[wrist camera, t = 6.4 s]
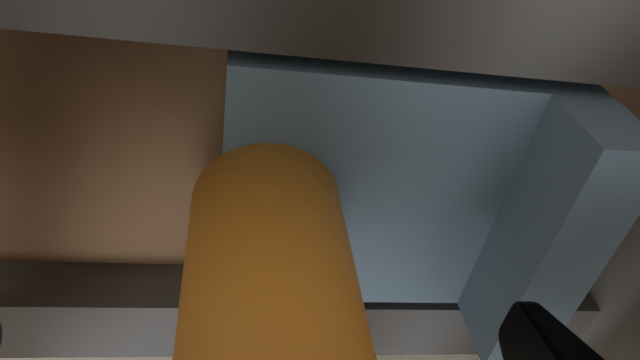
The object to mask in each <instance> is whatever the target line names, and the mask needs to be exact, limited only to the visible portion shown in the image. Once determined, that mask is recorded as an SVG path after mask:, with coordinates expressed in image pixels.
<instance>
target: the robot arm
mask: <svg viewBox="0 0 640 360" xmlns="http://www.w3.org/2000/svg"><path fill="white" fill-rule="evenodd" d="M2 335H3V332H2V326H1V323H0V347H1V343H2ZM498 339H499V344H500V348H501V353H502V357H503V360H605V359H604V358H602V357H601V356H600V355H599V354H598V353H597V352H595V351H594V350H593V349H592V348H591V347H590V346H588V345H587V344H586V343H585V342H584V341H583V340H581V339H580V338H579V337H578V336H577V335H576V334H574V333H573V332H572V331H571V330H570V329H568V328H567V327H566V326H565V325H564V324H563V323H561V322H560V321H559V320H558V319H557V318H556V317H554V316H553V315H552V314H551V313H550V312H549V311H547V310H546V309H545V308H544V307H543V306H542V305H540V304H539V303H537V302H534V301H516V302H515V303H513V304H512V305H511V307H510V309H509V311H508V313H507V315H506V316H505V318H504V320H503V322H502V324H501V326H500V328H499V332H498Z"/></svg>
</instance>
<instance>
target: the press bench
mask: <svg viewBox="0 0 640 360" xmlns="http://www.w3.org/2000/svg"><path fill="white" fill-rule="evenodd" d="M228 50H234V51H244V52H255V53H266V54H276V55H287V56H298V57H308V58H319V59H330V60H340V61H351V62H362V63H372V64H383V65H394V66H404V67H415V68H426V69H436V70H447V71H458V72H468V73H479V74H490V75H500V76H511V77H522V78H532V79H543V80H554V81H564V82H575V83H586V84H596V85H601V86H602V87H603V88H604V89H605V90H606V91H607V92H609V93H610V94H611V95H612V96H613V97H614V98H615V99H617V100H618V101H619V102H620V103H621V104H622V105H623V106H624V107H626V108H627V109H628V110H629V111H630V112H631V113H632V114H634V115H635V116H636V117H637V118H638V119H639V120H640V0H0V323H1V326H2V332H3V335H2V343H1V347H0V358H41V357H158V356H173V352H174V343H175V335H176V326H177V318H178V309H179V300H180V292H181V283H182V275H183V266H184V258H185V249H186V241H187V232H188V224H189V215H190V207H191V198H192V192H193V188H194V185H195V183H196V181H197V179H198V177H199V176H200V174H201V173H202V171H203V170H204V169H205V168H206V167H207V166H208V165H209V164H210V163H211V162H212V161H214V160H215V159H216V158H218V157H219V156H221V155H222V150H223V131H224V112H225V93H226V74H227V55H228ZM364 307H365V311H366V315H367V320H368V324H369V329H370V333H371V337H372V342H373V346H374V350H375V355H391V354H478V353H477V351H476V348H475V346H474V343H473V341H472V338H471V336H470V333H469V331H468V328H467V326H466V323H465V321H464V318H463V316H462V314H461V311H460V309H459V306H458V304H457V303H400V302H364ZM566 327H567V328H568V329H570V330H571V331H572V332H573V333H574V334H576V335H577V336H578V337H579V338H580V339H581V340H583V341H584V342H585V343H586V344H587V345H588V346H590V347H591V348H592V349H593V350H594V351H595V352H597V353H598V354H599V355H600V356H601V357H602V358H604V359H605V360H640V215H639V216H638V218H637V219H636V221H635V222H634V224H633V225H632V227H631V228H630V230H629V231H628V233H627V234H626V236H625V237H624V239H623V240H622V242H621V243H620V245H619V246H618V248H617V250H616V251H615V253H614V254H613V256H612V257H611V259H610V260H609V262H608V263H607V265H606V266H605V268H604V269H603V271H602V272H601V274H600V275H599V277H598V278H597V280H596V281H595V283H594V284H593V286H592V287H591V289H590V291H589V292H588V294H587V295H586V297H585V298H584V300H583V301H582V303H581V304H580V306H579V307H578V309H577V310H576V312H575V313H574V315H573V316H572V318H571V319H570V321H569V322H568V324H567V325H566Z"/></svg>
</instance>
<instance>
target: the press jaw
mask: <svg viewBox="0 0 640 360" xmlns="http://www.w3.org/2000/svg"><path fill="white" fill-rule="evenodd" d="M639 215H640V120H639V119H638V118H637V117H636V116H635V115H634V114H632V113H631V112H630V111H629V110H628V109H627V108H626V107H624V106H623V105H622V104H621V103H620V102H619V101H618V100H617V99H615V98H614V97H613V96H612V95H611V94H610V93H609V92H607V91H606V90H605V89H604V88H603V87H602V86H601V85H596V84H586V83H575V82H564V81H554V80H543V79H532V78H522V77H511V76H500V75H490V74H479V73H468V72H458V71H447V70H436V69H426V68H415V67H404V66H394V65H383V64H372V63H362V62H351V61H340V60H330V59H319V58H308V57H298V56H287V55H276V54H266V53H255V52H244V51H234V50H228V55H227V74H226V93H225V112H224V131H223V150H222V155H221V156H219V157H218V158H216V159H215V160H214V161H212V162H211V163H210V164H209V165H208V166H207V167H206V168H205V169H204V170H203V171H202V173H201V174H200V176H199V177H198V179H197V181H196V183H195V185H194V188H193V192H192V198H191V207H190V215H189V224H188V232H187V241H186V249H185V258H184V266H183V275H182V283H181V292H180V300H179V309H178V318H177V326H176V335H175V343H174V352H173V360H377V359H376V355H375V350H374V346H373V342H372V337H371V333H370V329H369V324H368V320H367V315H366V311H365V307H364V302H400V303H457V304H458V306H459V309H460V311H461V314H462V316H463V318H464V321H465V323H466V326H467V328H468V331H469V333H470V336H471V338H472V341H473V343H474V346H475V348H476V351H477V353H478V356H479V358H480V360H503V357H502V353H501V348H500V344H499V339H498V332H499V328H500V326H501V324H502V322H503V320H504V318H505V316H506V315H507V313H508V311H509V309H510V307H511V305H512V304H513V303H515V302H516V301H534V302H537V303H539V304H540V305H542V306H543V307H544V308H545V309H546V310H547V311H549V312H550V313H551V314H552V315H553V316H554V317H556V318H557V319H558V320H559V321H560V322H561V323H563V324H564V325H565V326H566V325H567V324H568V322H569V321H570V319H571V318H572V316H573V315H574V313H575V312H576V310H577V309H578V307H579V306H580V304H581V303H582V301H583V300H584V298H585V297H586V295H587V294H588V292H589V291H590V289H591V287H592V286H593V284H594V283H595V281H596V280H597V278H598V277H599V275H600V274H601V272H602V271H603V269H604V268H605V266H606V265H607V263H608V262H609V260H610V259H611V257H612V256H613V254H614V253H615V251H616V250H617V248H618V246H619V245H620V243H621V242H622V240H623V239H624V237H625V236H626V234H627V233H628V231H629V230H630V228H631V227H632V225H633V224H634V222H635V221H636V219H637V218H638V216H639Z"/></svg>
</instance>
